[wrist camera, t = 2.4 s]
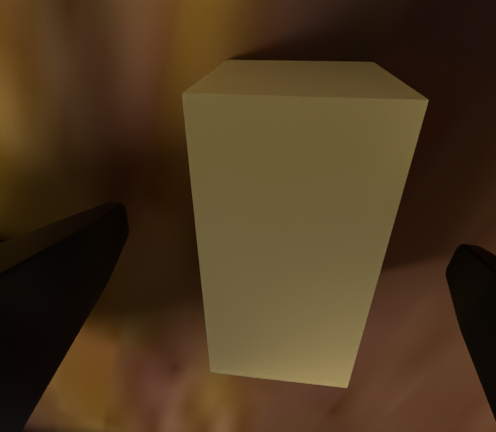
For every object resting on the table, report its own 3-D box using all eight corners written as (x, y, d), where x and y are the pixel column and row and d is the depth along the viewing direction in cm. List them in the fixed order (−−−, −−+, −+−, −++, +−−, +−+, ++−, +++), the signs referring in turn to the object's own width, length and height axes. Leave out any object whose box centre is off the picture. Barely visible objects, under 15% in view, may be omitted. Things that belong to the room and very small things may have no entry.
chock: (234, 271, 14) (210, 372, 10) (227, 59, 9) (181, 93, 6) (332, 279, 13) (347, 388, 9) (372, 60, 9) (428, 99, 5)
